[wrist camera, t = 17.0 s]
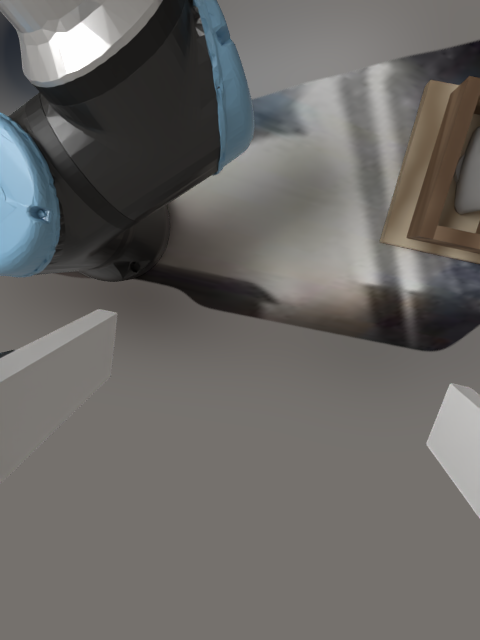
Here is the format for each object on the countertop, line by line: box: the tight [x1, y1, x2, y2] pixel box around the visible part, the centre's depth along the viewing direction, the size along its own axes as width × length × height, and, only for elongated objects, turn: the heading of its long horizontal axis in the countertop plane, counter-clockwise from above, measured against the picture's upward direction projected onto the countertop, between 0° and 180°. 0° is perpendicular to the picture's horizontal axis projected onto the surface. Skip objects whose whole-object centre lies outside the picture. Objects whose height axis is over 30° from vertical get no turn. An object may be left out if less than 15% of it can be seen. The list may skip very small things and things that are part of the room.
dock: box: [380, 76, 480, 264], centre depth 40 cm, size 14×18×6 cm
